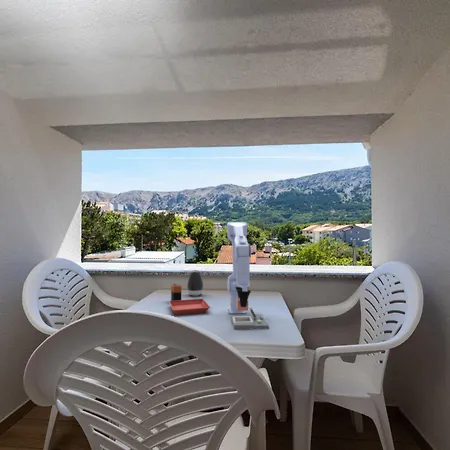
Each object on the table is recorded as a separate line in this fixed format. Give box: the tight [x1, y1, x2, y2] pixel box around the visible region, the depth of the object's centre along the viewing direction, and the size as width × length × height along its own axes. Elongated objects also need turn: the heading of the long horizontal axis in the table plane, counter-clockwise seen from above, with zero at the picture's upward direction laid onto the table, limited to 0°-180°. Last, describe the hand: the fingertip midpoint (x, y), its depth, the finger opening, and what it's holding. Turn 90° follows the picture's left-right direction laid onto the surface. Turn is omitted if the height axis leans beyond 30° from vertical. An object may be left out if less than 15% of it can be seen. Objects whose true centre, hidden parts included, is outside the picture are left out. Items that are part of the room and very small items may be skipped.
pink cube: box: [236, 298, 249, 312], centre depth 123 cm, size 4×4×4 cm
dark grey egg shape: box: [186, 269, 204, 297], centre depth 179 cm, size 10×10×15 cm
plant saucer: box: [169, 298, 211, 316], centre depth 146 cm, size 18×18×3 cm
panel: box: [230, 313, 270, 330], centre depth 126 cm, size 16×14×2 cm
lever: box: [248, 305, 257, 320], centre depth 127 cm, size 3×1×6 cm, turn 4°
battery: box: [170, 282, 182, 301], centre depth 163 cm, size 4×7×10 cm, turn 23°
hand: (242, 305), depth 123 cm, fingers closed on pink cube, 4 cm apart
